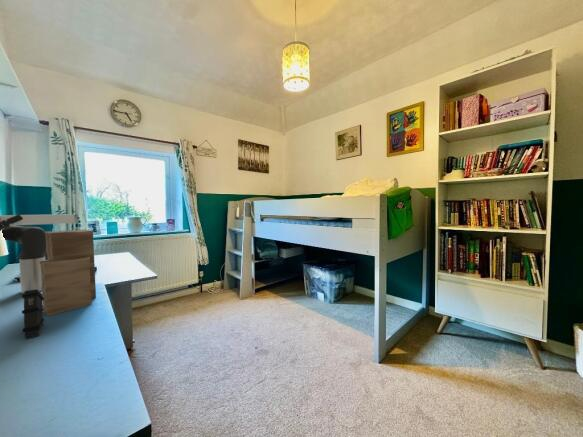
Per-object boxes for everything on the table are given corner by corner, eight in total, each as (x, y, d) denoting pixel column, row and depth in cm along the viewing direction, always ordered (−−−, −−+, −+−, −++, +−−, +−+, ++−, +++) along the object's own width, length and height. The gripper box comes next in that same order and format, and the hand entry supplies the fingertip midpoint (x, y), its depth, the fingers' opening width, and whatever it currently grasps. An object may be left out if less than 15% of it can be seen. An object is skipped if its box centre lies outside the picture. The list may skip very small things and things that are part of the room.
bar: (-5, 225, 95) (-5, 215, 95) (75, 222, 115) (75, 214, 114) (-4, 226, 93) (-4, 215, 93) (77, 222, 112) (77, 214, 112)
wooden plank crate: (35, 304, 108) (31, 232, 106) (88, 292, 122) (85, 229, 121) (46, 316, 95) (41, 235, 94) (103, 301, 110) (99, 231, 109)
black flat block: (20, 339, 76) (22, 291, 80) (29, 341, 85) (30, 298, 89) (38, 335, 78) (38, 288, 82) (44, 337, 87) (44, 295, 92)
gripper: (-50, 234, 81) (15, 208, 93) (-50, 231, 90) (10, 208, 101) (-30, 251, 85) (30, 224, 97) (-32, 248, 93) (24, 223, 105)
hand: (20, 216), depth 99 cm, fingers closed on bar, 4 cm apart
